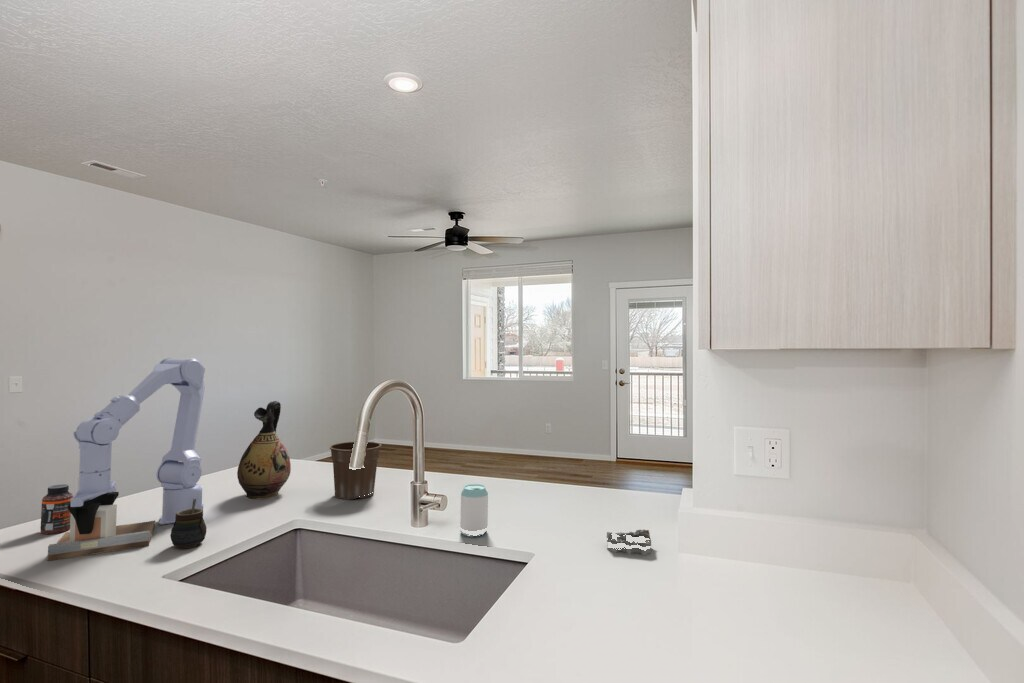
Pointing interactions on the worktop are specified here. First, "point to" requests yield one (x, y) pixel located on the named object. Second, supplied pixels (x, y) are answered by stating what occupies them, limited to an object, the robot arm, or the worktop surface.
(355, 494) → the plant pot
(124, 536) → the rail
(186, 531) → the mate gourd
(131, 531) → the brown flat panel
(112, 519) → the carton
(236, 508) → the worktop surface
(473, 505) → the can
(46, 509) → the supplement bottle
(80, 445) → the robot arm
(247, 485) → the ceramic jug
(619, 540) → the egg carton
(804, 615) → the worktop surface
